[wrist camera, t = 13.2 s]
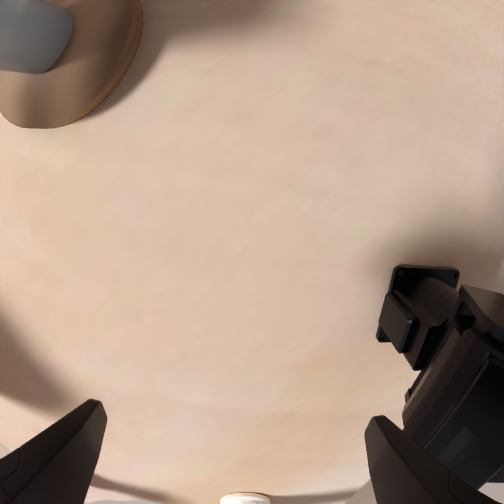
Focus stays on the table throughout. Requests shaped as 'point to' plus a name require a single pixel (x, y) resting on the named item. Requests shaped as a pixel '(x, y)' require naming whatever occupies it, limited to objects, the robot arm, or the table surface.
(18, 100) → the trivet
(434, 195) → the table surface
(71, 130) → the table surface
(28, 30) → the jar
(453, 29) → the table surface
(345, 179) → the table surface
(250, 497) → the candle
